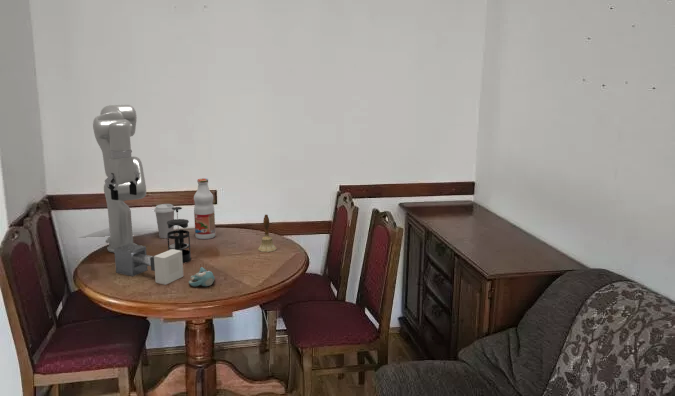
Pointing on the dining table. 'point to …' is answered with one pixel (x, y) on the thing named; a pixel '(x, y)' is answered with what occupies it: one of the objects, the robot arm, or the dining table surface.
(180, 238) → the french press
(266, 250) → the hand bell
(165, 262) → the socket
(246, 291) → the dining table surface
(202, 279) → the stuffed animal
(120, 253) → the grey metal block
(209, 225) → the fruit juice
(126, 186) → the robot arm
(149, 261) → the rod
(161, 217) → the coffee cup
